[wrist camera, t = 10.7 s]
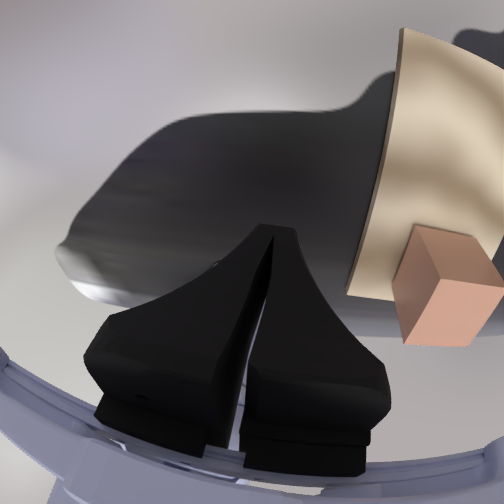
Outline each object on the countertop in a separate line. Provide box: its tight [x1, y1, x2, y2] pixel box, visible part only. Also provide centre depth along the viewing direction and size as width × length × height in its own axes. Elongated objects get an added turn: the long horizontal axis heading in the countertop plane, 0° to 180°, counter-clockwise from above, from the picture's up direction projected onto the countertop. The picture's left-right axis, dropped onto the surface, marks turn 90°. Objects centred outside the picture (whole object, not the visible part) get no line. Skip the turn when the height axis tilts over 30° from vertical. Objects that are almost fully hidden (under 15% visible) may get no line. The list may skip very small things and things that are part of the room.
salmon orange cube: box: [391, 225, 504, 347], centre depth 17 cm, size 6×6×6 cm
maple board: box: [346, 28, 504, 301], centre depth 17 cm, size 20×12×1 cm, turn 177°
